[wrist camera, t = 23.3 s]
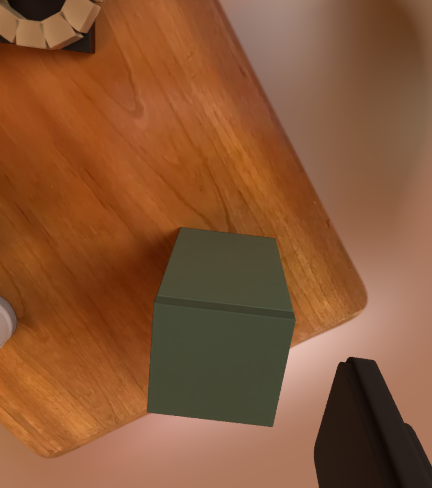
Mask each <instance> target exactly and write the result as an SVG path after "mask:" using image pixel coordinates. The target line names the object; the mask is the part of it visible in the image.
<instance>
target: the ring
mask: <svg viewBox="0 0 432 488" xmlns="http://www.w3.org/2000/svg"><path fill="white" fill-rule="evenodd" d="M94 2H99V3H102V2H103V0H66V1H65V3H64V5H63V7H62V9H61V11H60V12H58V13H56V14H54V15H52V16H51V17H49V18H47V19H45V20H43V21H41V22H40V21H33V20H27V19H26V18H24V17H23V16H22V15H20V14H19V13H18V12H16V11H15V10H14V9H13V8H11V7H10V5H9V3H8V1H7V0H0V35H1V36H3V37H4V38H5V39H7V40H8V41H9V42H11V43H16V45H18V46H25V47H33V48H40V49H48V50H54V49H62V48H64V47H66V46H68V45H70V44H72V43H74V42H76V41H78V40H80V39H81V38H83V35H82V33H86V34H87V33H88V31H89V29H90V27H91V26H92V24H93V22H94V20H95V18H96V17H97V15H98V13H99V11H100V10H101V8H100V7H99V6H98V5H97V4H96V3H94ZM81 32H82V33H81Z"/></svg>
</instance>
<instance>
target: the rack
mask: <svg viewBox="0 0 432 488" xmlns="http://www.w3.org/2000/svg"><path fill="white" fill-rule="evenodd" d="M7 1H8V3H9V5H10V7H11V8H13V9H14V10H15V11H16V12H18V13H19V14H20V15H22V16H23V17H24V18H26V19H27V20H33V21H40V22H41V21H43V20H45V19H47V18H49V17H51V16H52V15H54V14H56V13H58V12H60V11H61V9H62V7H63V5H64V3H65V1H66V0H7ZM94 3H95V2H94ZM81 33H82V32H81ZM82 35H83V38H81V39H80V40H78V41H76V42H74V43H72V44H70V45H68V46H66V47H64V48H62V49H61V50H70V51H78V52H86V53H95V20H94V22H93V24H92V26H91V27H90V29H89V31H88V33H87V34H86V33H82ZM0 42H2V43H11V42H9V41H8V40H7V39H5V38H4V37H3V36H1V35H0ZM11 44H16V43H11Z"/></svg>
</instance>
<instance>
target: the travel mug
mask: <svg viewBox="0 0 432 488" xmlns="http://www.w3.org/2000/svg"><path fill="white" fill-rule="evenodd" d="M16 326H17V319H16V315H15V312H14V310H13V308H12V307H11V306H10V304H9V303H8V302H7V301H6V300H5V299H3V298H2V297H0V348H1V347H2V346H3V345H4V344H5V343H6V341H7V340H8V339H9V338H10V337H11V336H12V334H13V333H14V331H15V329H16Z"/></svg>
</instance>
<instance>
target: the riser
mask: <svg viewBox="0 0 432 488" xmlns="http://www.w3.org/2000/svg"><path fill="white" fill-rule="evenodd" d="M295 321H296V319H295V315H294V312H293V308H292V304H291V300H290V296H289V292H288V288H287V284H286V279H285V275H284V271H283V267H282V263H281V259H280V255H279V251H278V247H277V243H276V239H275V238H268V237H259V236H251V235H242V234H234V233H225V232H217V231H208V230H200V229H191V228H183V227H181V228H180V230H179V233H178V236H177V239H176V242H175V244H174V247H173V250H172V253H171V256H170V259H169V261H168V264H167V267H166V270H165V273H164V276H163V278H162V281H161V284H160V287H159V290H158V293H157V295H156V298H155V301H154V304H153V321H152V337H151V354H150V370H149V387H148V404H147V412H148V413H157V414H165V415H174V416H182V417H191V418H199V419H208V420H217V421H225V422H235V423H243V424H252V425H260V426H268V427H273V423H274V418H275V414H276V409H277V404H278V400H279V395H280V391H281V386H282V381H283V377H284V372H285V368H286V363H287V358H288V354H289V349H290V345H291V340H292V335H293V331H294V326H295Z"/></svg>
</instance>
